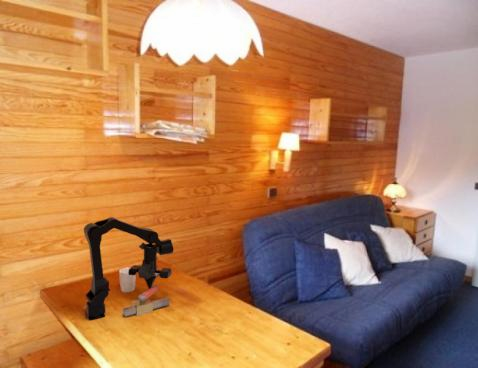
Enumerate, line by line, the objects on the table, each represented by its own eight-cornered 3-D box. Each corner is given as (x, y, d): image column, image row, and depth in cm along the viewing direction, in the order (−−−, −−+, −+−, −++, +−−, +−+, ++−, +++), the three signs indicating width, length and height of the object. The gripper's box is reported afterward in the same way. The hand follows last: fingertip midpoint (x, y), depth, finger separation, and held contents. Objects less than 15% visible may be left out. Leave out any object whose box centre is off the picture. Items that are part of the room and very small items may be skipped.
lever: (143, 301, 159) (143, 297, 159) (137, 300, 160) (136, 296, 160) (160, 289, 172) (160, 285, 172) (154, 288, 173) (154, 284, 173)
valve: (126, 319, 155) (126, 307, 154) (121, 313, 160) (121, 301, 159) (170, 307, 166) (170, 296, 165) (165, 302, 171) (165, 291, 170)
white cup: (133, 293, 180) (133, 273, 179) (117, 292, 180) (116, 273, 179) (138, 286, 188) (137, 267, 187) (122, 286, 188) (122, 267, 187)
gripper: (122, 260, 162) (123, 294, 164) (163, 264, 159) (163, 299, 161) (133, 252, 173) (133, 284, 175) (172, 256, 170) (171, 288, 172)
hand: (150, 289), depth 171 cm, fingers closed
